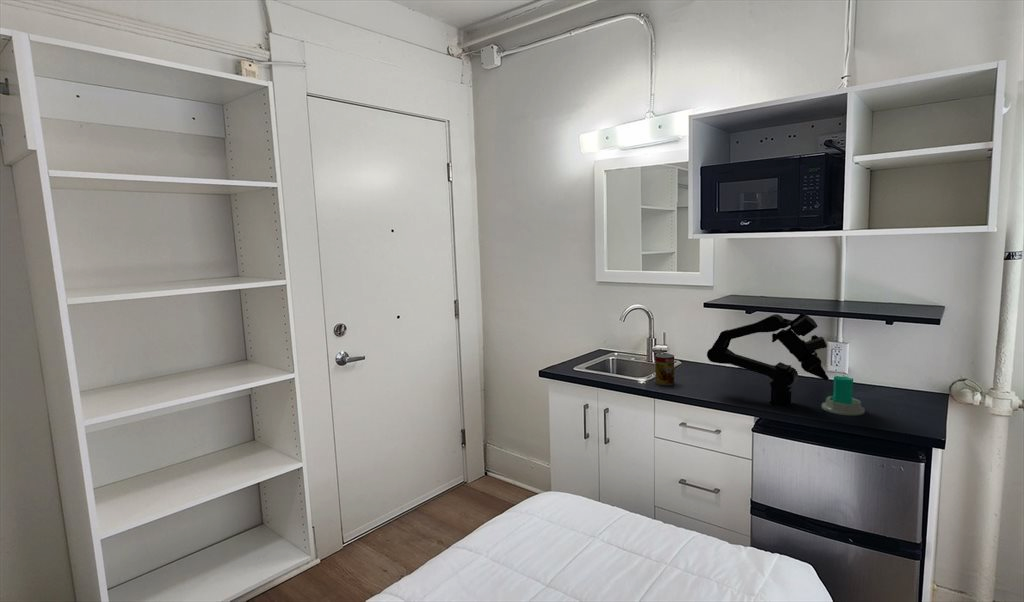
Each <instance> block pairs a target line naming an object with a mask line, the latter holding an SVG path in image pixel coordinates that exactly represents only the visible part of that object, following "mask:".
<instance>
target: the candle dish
mask: <svg viewBox="0 0 1024 602" xmlns="http://www.w3.org/2000/svg"><path fill="white" fill-rule="evenodd" d="M821 409H822V410H824V411H826V412H828V413H831V414H835V415H841V416H851V417H852V416H853V417H855V416H862V415H864V414H865V412H866V409H865V407H863V406H862V401H861V400H859V399H858V398H857V399H856V398H855V397H852V403H850V404H845V403H839V402H834V401H833V395H829V396H827V397H826V398H825V402H822V403H821Z"/></svg>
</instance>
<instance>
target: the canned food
mask: <svg viewBox="0 0 1024 602" xmlns="http://www.w3.org/2000/svg"><path fill="white" fill-rule="evenodd" d="M654 358H655V360H654V366H655V367H654V371H655V372H654V373H655V377H654V380H655V384H657V385H660V386H672V385H674V384H675V355H674V354H671V353H656V354H655V357H654Z"/></svg>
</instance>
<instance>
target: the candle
mask: <svg viewBox="0 0 1024 602" xmlns="http://www.w3.org/2000/svg"><path fill="white" fill-rule="evenodd" d="M844 375H845V374H844V373H843V376H841V375H840V376H839V375H835V376H834V377H833V389H832V390H833V392H832V393H833V394H832V396H833V401H834V402H839V403H845V404H850V403H852V398H854V396H853V395H854V394H853V391H854V378H853V377H852V378H851V377H849V376H844Z"/></svg>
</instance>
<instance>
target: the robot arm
mask: <svg viewBox="0 0 1024 602" xmlns="http://www.w3.org/2000/svg"><path fill="white" fill-rule="evenodd" d="M817 328H818V324H817V322H816V321H815V319H813V318H812V317H811V316H809V315H808V314H806V313H805V312H802V313H800V314H799V315H798V316H797V317H795V318H794V319H793V320H792V319H788V318H784V317H783V316H782V315H780V314H778V313H776V314H775V313H774V314H772V315H770V316H767V317H765V318H763V319H760V320H758V321H756V322H754V323H750V324H746V325H741V326H739V327H734V328H732V329H731V328H730V329H725V330H723V331H721V332H720V334H719V336H718V337H717V339H716V340H715V341H714V343H713V345H712V347H710V348H709V349H708V350H707V352H706V356H707V359H708V361H709V362H711V363H715V364H725V365H726V364H727V365H732V366H735V367H737V368H741V369H745V370H748V371H751V372H755V373H757V374H760V375H764V376H766V377H768V378H770V379H771V382H769V385H770V389H771V390H770V401H769V402H768V403H769V404H772V405H777V406H783V407H789V406H790V405H791V404H792V403H794V392H793V391H792V389H793V387H792V384H793V383H795V382H796V381H797V380H798V378H799V373H798V371H797V369H796V368H794V367H793V366H792V364H790V365H789V364H785V363H783V362H781V361H780V362H778V363H776V364H775V365H773V364H769V363H766V362H762V361H760V360H756V359H753V358H750V357H746V356H744V355H739V354H737V353H734V352H733V351H732V350H730V348H729V346H730V343H731V341H732V340H733V339H737V338H742V337H746V336H750V335H753V334H759V333H771V332H772V334H771V339H772V340H771V342H772V343H775V342H777V340H778V341H779V342H780V343H781V344H782V345H783V346H784V347H785V348H786V349H787V350H788V351H789V353H790V354H792V356H793V357H795V358H796V359H797V361H798V362H799V363H800V367H801V369H802V370H803V371H804V372H806V373H809V374H811V375H813V376H816V377H817V378H818V377H819V378H820V379H823V380H824V381H828V380H830V378H829V376H828V375H827V373H826V371H825V369H824V368H823V367H822V360H821V358H820V357H819V356H818V353H817V350H821V349H825V348H828V345H827V343H826V341H825V339H824V337H823V336H817V335H816V334H813V335H811V337H810V338H811V339H809V340H808V341H805V340H804V339H801V338H800V336H801V337H805V336H807V335H808V334H810V333H811V332H813V331H814V330H815V329H817ZM777 331H778V332H777ZM774 332H775V333H774Z"/></svg>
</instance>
